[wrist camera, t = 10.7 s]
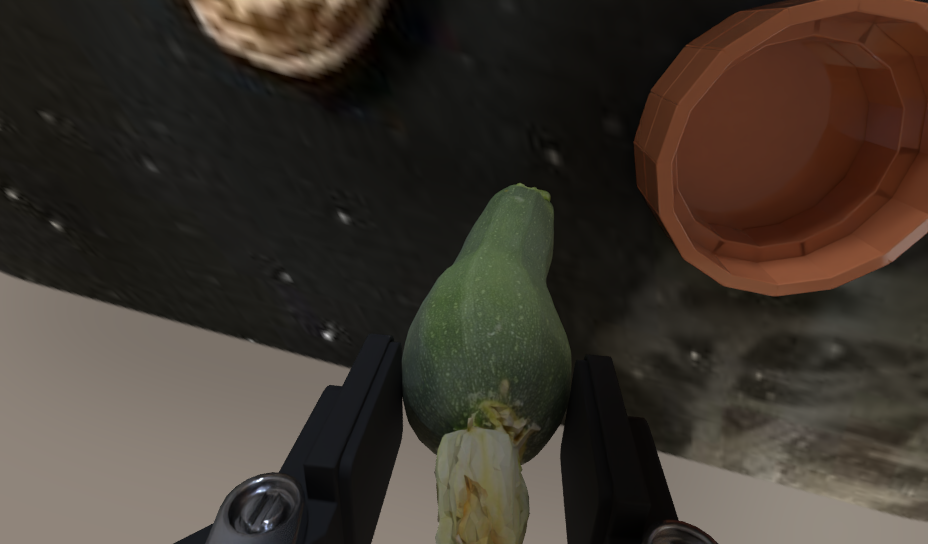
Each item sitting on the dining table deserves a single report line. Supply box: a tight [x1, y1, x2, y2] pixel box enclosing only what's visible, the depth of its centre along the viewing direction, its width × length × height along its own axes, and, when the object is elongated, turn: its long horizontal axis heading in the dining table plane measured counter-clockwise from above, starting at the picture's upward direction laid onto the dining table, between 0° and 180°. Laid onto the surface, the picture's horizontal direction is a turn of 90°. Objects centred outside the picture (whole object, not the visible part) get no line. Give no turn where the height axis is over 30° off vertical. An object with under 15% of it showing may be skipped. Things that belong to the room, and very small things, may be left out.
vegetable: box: [402, 183, 572, 544], centre depth 16 cm, size 4×4×20 cm
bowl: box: [634, 0, 928, 296], centre depth 21 cm, size 11×11×5 cm
